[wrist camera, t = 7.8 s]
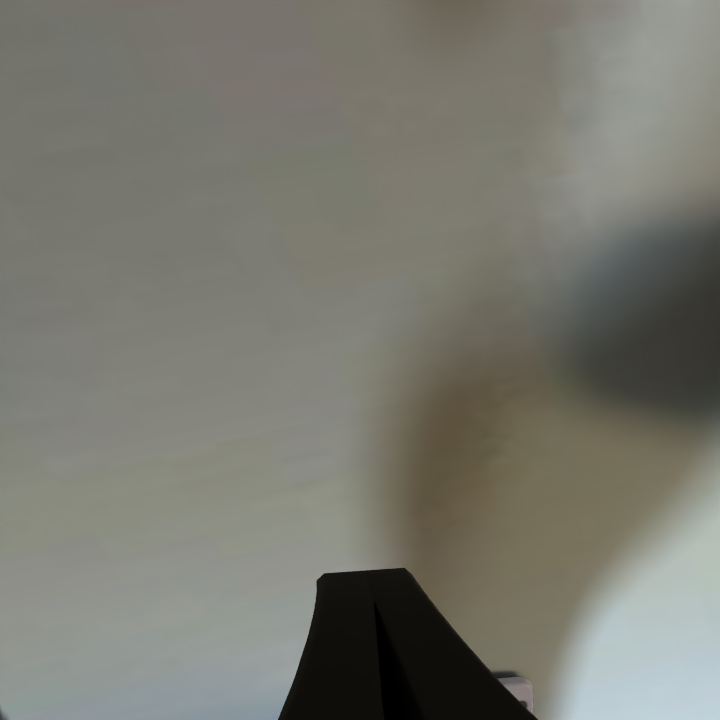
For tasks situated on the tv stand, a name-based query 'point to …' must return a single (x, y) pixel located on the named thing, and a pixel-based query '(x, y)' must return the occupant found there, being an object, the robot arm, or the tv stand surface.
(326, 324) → the tv stand surface
